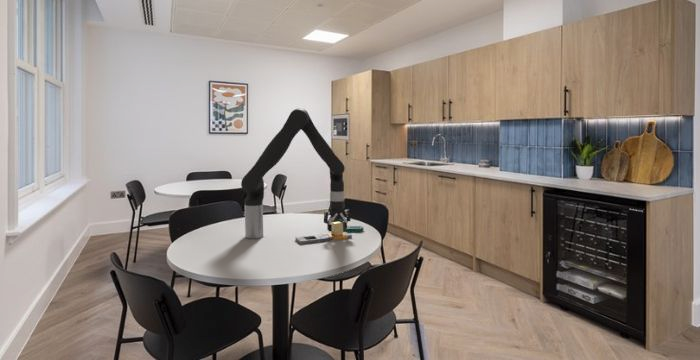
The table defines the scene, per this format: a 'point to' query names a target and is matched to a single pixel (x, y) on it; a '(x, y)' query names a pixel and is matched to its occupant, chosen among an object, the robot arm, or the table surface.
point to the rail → (321, 238)
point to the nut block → (337, 229)
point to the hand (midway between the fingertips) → (337, 230)
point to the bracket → (349, 227)
